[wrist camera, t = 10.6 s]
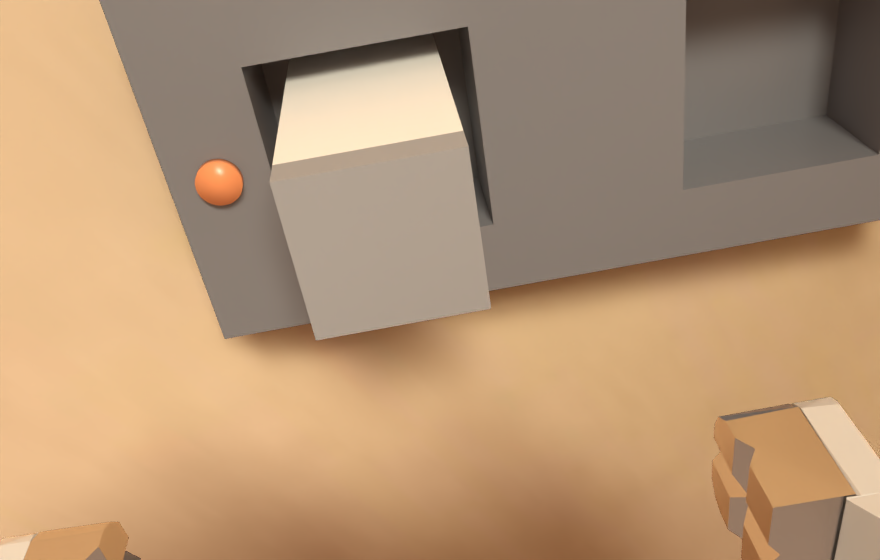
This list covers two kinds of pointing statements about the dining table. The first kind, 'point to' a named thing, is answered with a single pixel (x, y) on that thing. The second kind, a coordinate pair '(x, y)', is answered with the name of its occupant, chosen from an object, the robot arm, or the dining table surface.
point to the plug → (377, 189)
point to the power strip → (529, 125)
